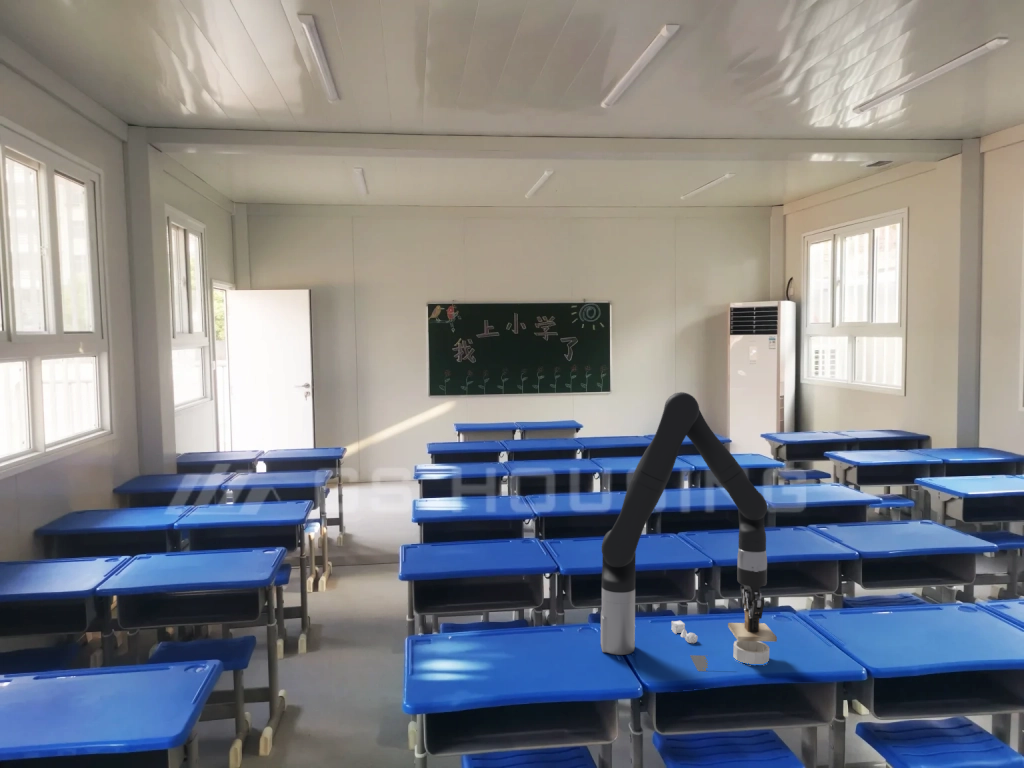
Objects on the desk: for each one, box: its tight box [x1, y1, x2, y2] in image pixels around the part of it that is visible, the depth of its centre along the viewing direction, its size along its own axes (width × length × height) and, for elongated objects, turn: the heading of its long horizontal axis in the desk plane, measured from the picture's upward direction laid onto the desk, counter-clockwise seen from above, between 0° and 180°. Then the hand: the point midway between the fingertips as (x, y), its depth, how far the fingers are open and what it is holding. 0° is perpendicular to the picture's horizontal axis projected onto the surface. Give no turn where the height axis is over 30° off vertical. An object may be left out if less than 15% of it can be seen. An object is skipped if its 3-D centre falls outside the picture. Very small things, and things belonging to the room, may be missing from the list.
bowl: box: [732, 639, 770, 664], centre depth 192 cm, size 9×9×4 cm
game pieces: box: [670, 620, 699, 644], centre depth 208 cm, size 12×3×3 cm, turn 11°
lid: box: [727, 611, 778, 643], centre depth 192 cm, size 10×10×6 cm
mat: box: [689, 654, 708, 672], centre depth 189 cm, size 10×10×1 cm
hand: (751, 629), depth 192 cm, fingers closed on lid, 3 cm apart
